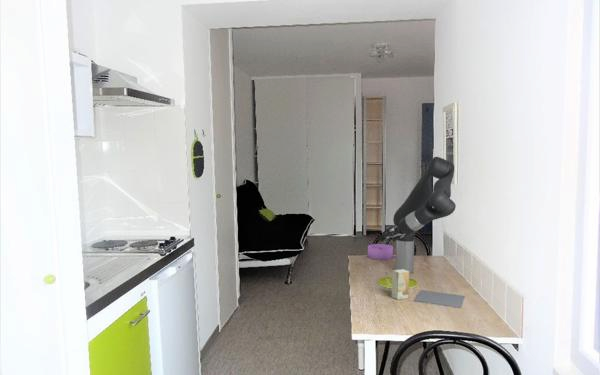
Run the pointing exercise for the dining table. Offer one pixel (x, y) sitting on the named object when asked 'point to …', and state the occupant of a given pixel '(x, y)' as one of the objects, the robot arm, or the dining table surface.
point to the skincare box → (400, 284)
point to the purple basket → (380, 251)
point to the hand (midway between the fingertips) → (386, 239)
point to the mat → (440, 298)
